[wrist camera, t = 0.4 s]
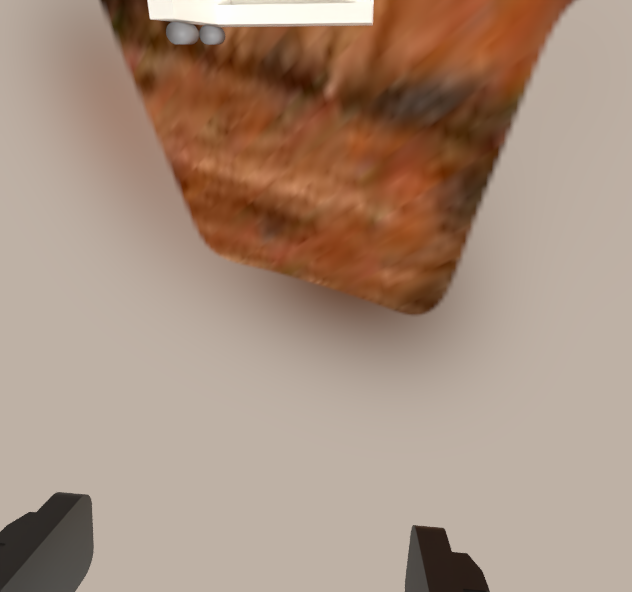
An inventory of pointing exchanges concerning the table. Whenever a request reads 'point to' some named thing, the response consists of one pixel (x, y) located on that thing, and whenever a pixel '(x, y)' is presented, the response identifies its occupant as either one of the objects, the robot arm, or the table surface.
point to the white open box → (253, 15)
